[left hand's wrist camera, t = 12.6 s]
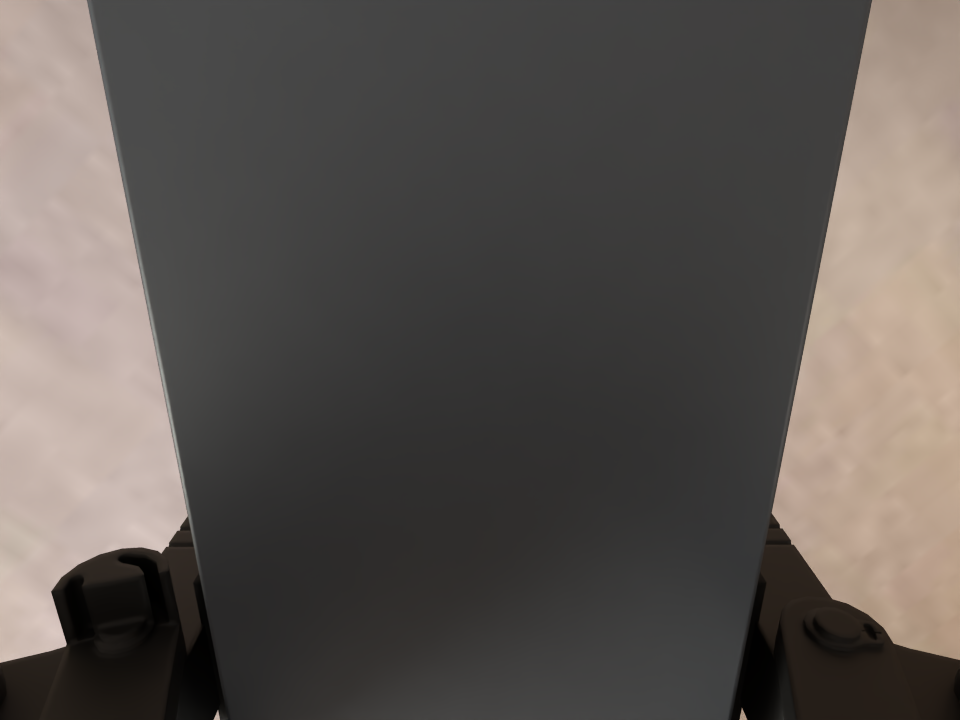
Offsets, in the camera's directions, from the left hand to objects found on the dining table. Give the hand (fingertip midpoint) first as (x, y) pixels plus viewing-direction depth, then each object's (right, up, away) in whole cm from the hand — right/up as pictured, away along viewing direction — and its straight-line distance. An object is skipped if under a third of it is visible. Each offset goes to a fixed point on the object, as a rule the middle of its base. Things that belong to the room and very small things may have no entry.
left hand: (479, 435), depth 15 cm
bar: (0, +10, -3) cm, 11 cm away
